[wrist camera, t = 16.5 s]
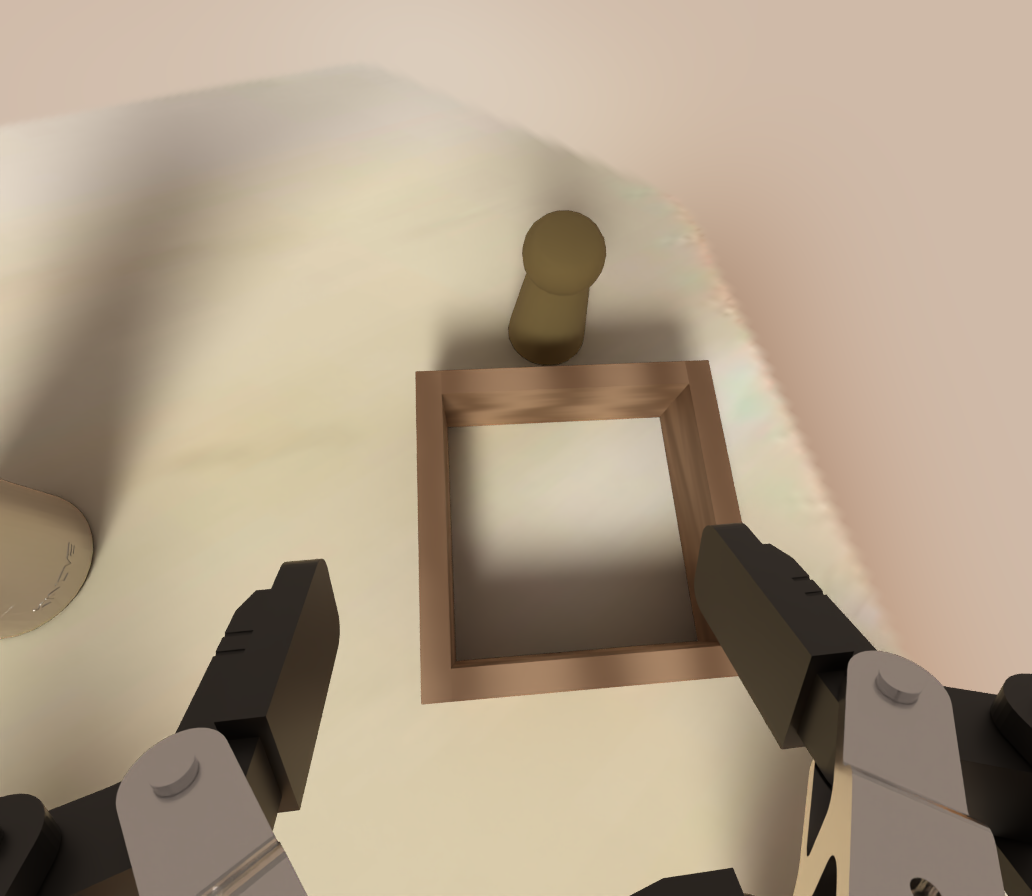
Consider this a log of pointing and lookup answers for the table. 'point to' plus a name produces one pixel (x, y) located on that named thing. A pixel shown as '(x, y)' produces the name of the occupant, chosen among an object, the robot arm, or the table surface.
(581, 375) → the walnut crate
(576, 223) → the olive pawn
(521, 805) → the table surface
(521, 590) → the table surface
